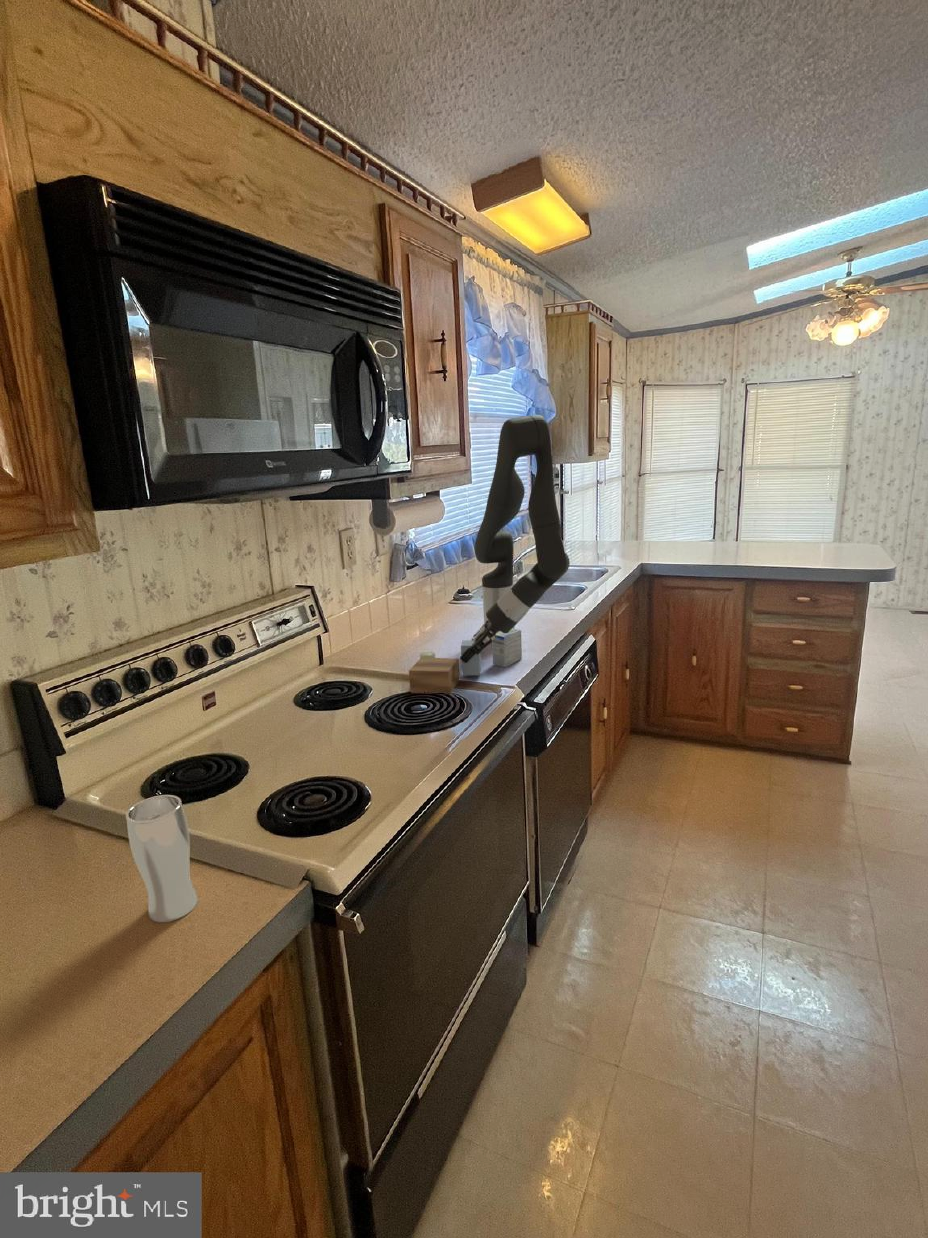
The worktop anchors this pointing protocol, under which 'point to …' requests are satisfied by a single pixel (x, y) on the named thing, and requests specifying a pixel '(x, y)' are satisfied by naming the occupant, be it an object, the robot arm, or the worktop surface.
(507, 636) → the medicine box
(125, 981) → the worktop surface
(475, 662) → the slate-blue block
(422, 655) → the pale small block
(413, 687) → the walnut block
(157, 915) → the beer glass
